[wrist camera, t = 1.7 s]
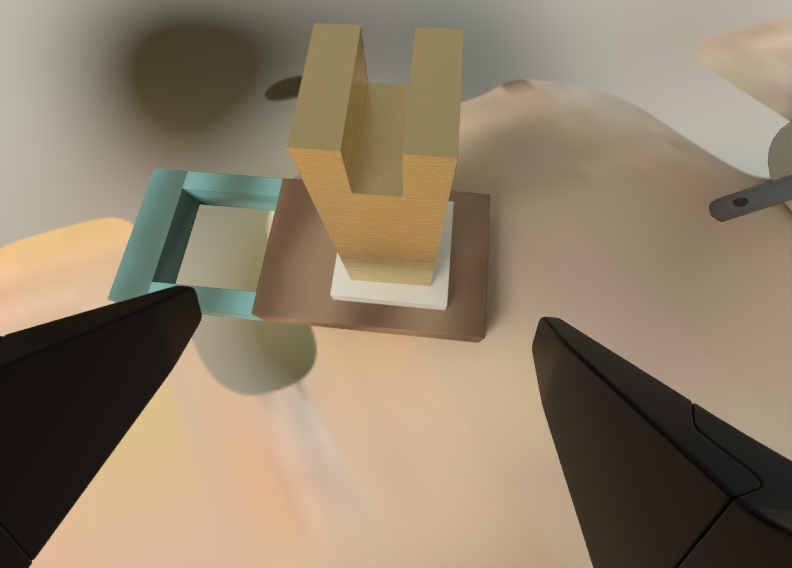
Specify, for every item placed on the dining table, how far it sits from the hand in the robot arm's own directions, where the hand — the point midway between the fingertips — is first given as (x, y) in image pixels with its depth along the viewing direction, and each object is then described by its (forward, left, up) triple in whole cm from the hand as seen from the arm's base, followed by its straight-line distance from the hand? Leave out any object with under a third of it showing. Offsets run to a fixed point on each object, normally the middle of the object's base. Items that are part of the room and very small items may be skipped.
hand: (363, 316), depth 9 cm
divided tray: (+1, +8, -13) cm, 15 cm away
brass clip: (+4, +4, -10) cm, 11 cm away
